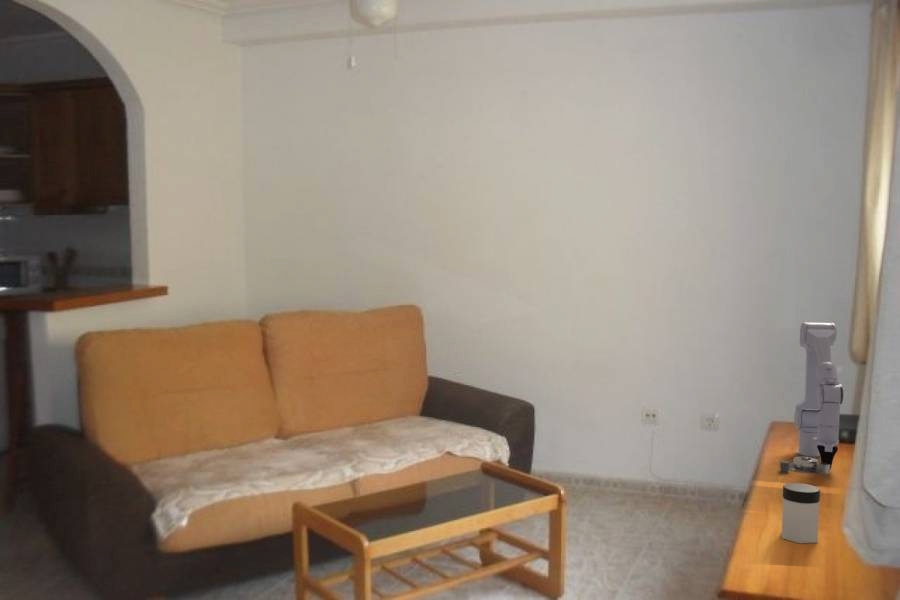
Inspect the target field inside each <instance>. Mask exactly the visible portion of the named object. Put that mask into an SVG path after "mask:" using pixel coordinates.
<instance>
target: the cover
mask: <svg viewBox="0 0 900 600" xmlns="http://www.w3.org/2000/svg"><path fill="white" fill-rule="evenodd" d="M817 463H819V459H817V458H816V457H812V456H805V455H801V456H795V457H793V467H794V468H795V469H799V470H804V471H816V470H817Z"/></svg>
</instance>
